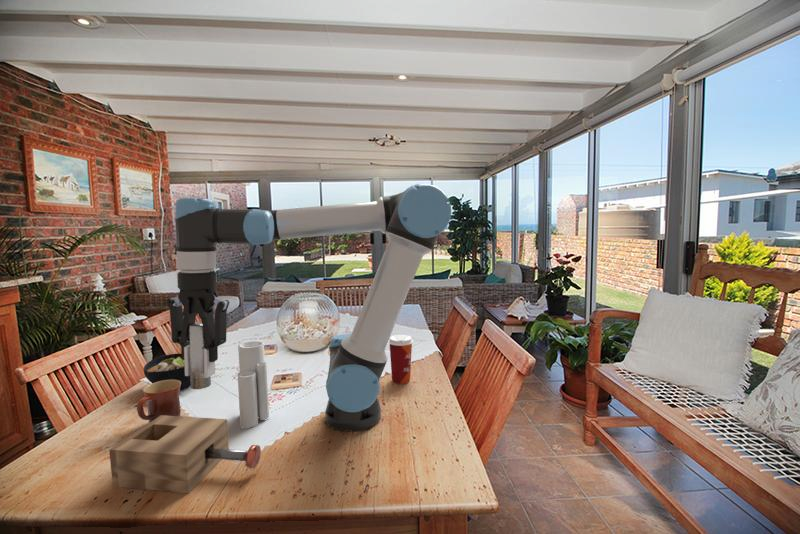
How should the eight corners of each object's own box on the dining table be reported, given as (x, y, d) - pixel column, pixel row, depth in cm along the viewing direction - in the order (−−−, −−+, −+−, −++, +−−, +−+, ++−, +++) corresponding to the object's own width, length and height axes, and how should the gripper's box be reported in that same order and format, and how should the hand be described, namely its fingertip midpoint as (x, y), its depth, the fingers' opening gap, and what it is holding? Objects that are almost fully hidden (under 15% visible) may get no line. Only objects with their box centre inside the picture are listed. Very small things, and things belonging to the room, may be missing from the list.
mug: (164, 413, 108) (161, 378, 107) (191, 416, 106) (188, 380, 105) (126, 436, 96) (122, 397, 95) (155, 439, 94) (152, 400, 93)
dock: (229, 451, 89) (227, 419, 88) (188, 493, 75) (186, 455, 74) (163, 446, 91) (161, 415, 90) (112, 486, 77) (109, 449, 77)
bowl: (190, 373, 137) (188, 346, 136) (215, 384, 127) (213, 355, 126) (136, 389, 124) (133, 360, 123) (159, 403, 114) (157, 371, 113)
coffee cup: (413, 385, 125) (413, 341, 123) (388, 385, 125) (387, 341, 123) (412, 375, 133) (412, 334, 132) (389, 375, 133) (388, 334, 132)
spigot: (214, 382, 87) (213, 322, 85) (203, 390, 83) (201, 327, 82) (198, 381, 87) (196, 321, 86) (186, 388, 84) (184, 326, 82)
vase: (242, 410, 109) (238, 342, 107) (268, 406, 112) (265, 339, 109) (239, 429, 99) (235, 355, 96) (269, 424, 101) (265, 351, 99)
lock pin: (261, 460, 83) (260, 440, 82) (250, 473, 79) (249, 452, 78) (203, 455, 85) (202, 437, 84) (190, 468, 80) (189, 448, 80)
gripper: (243, 270, 85) (245, 371, 87) (173, 267, 87) (177, 365, 90) (223, 274, 78) (225, 384, 80) (148, 270, 80) (152, 378, 82)
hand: (200, 374), depth 85 cm, fingers closed on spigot, 4 cm apart
